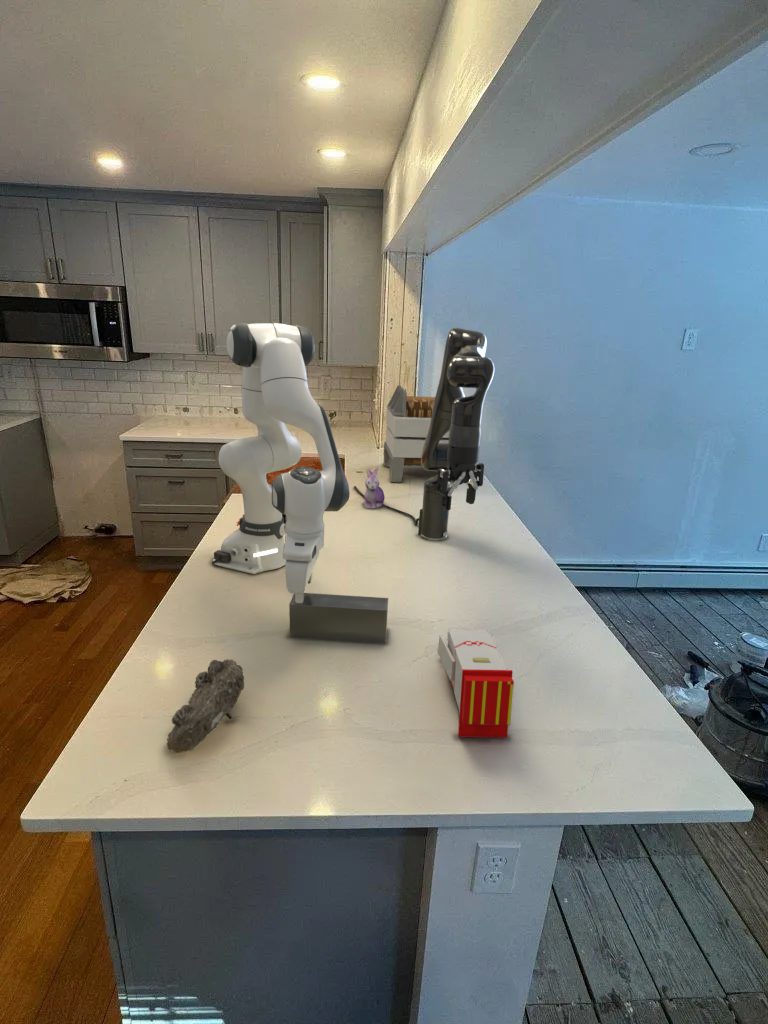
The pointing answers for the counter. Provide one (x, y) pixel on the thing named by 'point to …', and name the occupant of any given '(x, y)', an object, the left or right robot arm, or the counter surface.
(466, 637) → the toy
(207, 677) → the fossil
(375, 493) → the figurine
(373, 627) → the box
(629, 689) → the counter surface
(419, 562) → the counter surface
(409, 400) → the grey crate
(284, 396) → the left robot arm
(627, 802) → the counter surface
